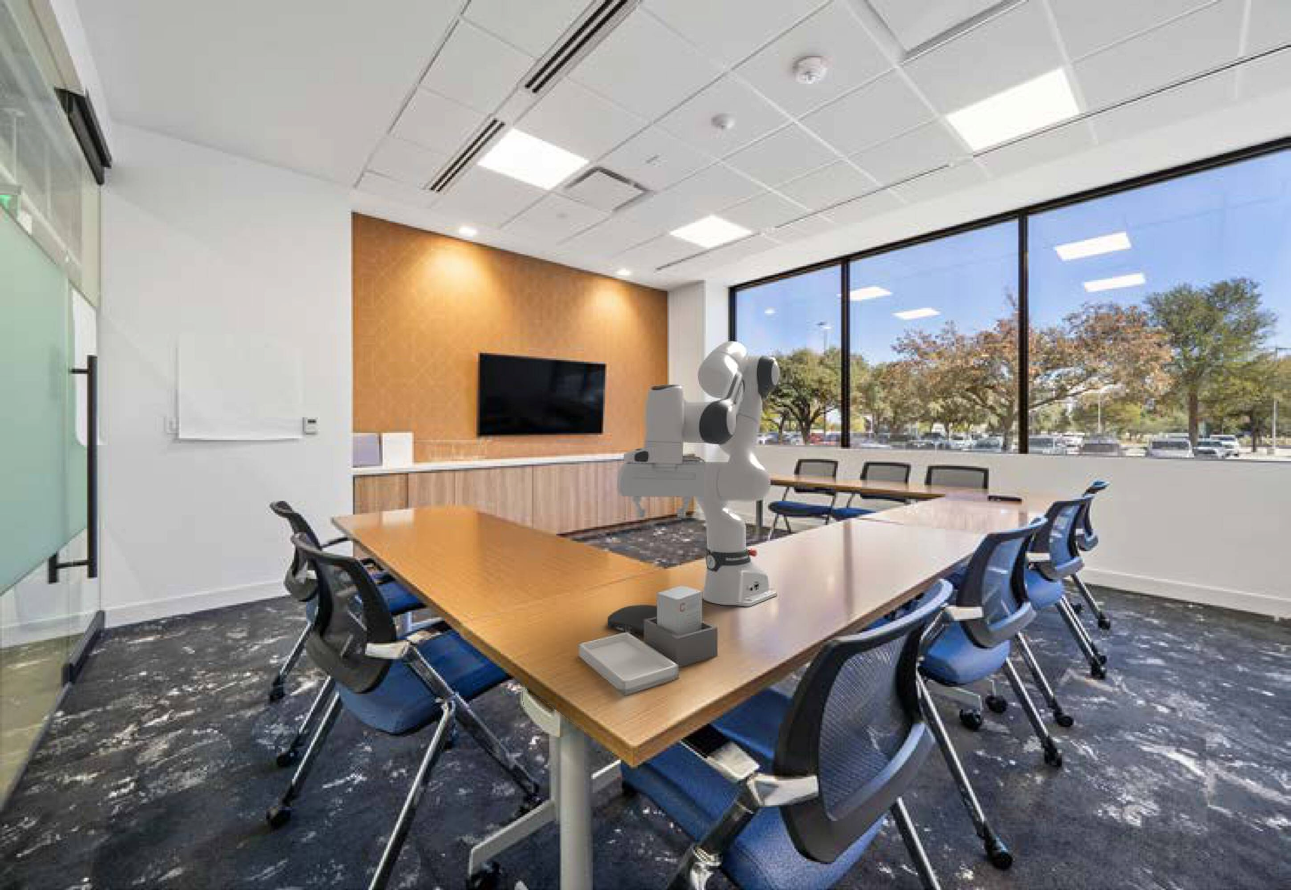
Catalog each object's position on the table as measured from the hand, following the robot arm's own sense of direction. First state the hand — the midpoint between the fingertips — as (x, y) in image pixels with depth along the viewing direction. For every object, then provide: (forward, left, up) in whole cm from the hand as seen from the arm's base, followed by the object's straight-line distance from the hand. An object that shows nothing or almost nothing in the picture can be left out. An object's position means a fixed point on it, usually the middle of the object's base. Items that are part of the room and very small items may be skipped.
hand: (661, 517), depth 115 cm
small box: (-1, +5, -29) cm, 29 cm away
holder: (-1, +5, -29) cm, 29 cm away
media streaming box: (-2, -13, -29) cm, 32 cm away
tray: (+13, +5, -29) cm, 32 cm away
